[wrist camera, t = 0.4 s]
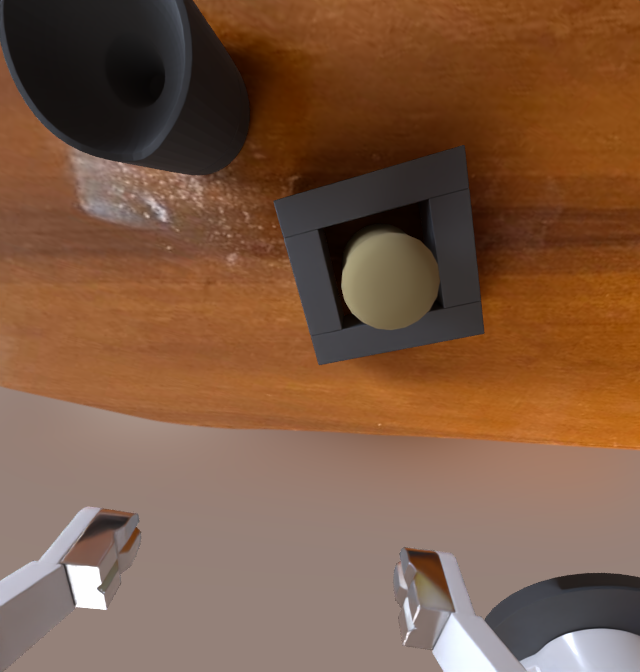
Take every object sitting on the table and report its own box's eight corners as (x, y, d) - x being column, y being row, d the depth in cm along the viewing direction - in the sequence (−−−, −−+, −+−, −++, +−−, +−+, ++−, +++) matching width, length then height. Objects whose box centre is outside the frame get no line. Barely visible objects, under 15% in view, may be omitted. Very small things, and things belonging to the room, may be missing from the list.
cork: (432, 250, 26) (483, 268, 15) (388, 312, 28) (406, 366, 17) (368, 207, 25) (376, 197, 15) (327, 274, 27) (309, 306, 17)
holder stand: (467, 318, 27) (484, 333, 23) (323, 347, 29) (318, 365, 26) (447, 156, 24) (464, 144, 20) (285, 203, 26) (273, 200, 22)
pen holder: (168, 0, 22) (30, -162, 13) (281, 92, 23) (229, 4, 14) (116, 130, 25) (-26, 77, 16) (218, 206, 26) (140, 198, 17)
